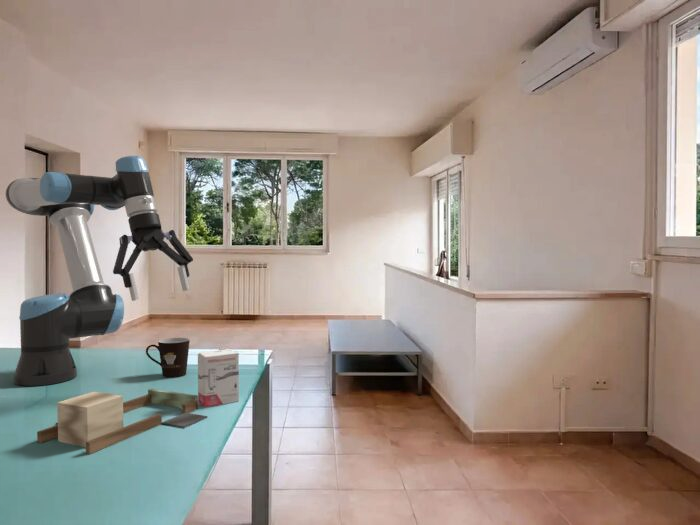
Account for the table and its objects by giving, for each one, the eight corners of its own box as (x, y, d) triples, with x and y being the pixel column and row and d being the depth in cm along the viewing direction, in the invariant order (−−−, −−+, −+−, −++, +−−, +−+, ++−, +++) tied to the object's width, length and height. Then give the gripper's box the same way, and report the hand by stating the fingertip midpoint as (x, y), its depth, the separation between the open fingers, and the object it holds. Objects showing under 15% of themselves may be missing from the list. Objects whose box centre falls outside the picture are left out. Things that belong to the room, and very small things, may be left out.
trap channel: (16, 437, 99) (16, 422, 99) (132, 398, 124) (132, 386, 124) (114, 459, 88) (114, 442, 88) (219, 412, 114) (219, 398, 114)
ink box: (203, 408, 117) (203, 356, 116) (197, 402, 121) (196, 352, 120) (240, 401, 122) (239, 351, 121) (232, 396, 126) (231, 348, 125)
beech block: (58, 441, 97) (57, 402, 97) (94, 428, 104) (94, 391, 104) (87, 448, 94) (87, 407, 93) (123, 433, 101) (122, 395, 101)
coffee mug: (196, 373, 150) (196, 338, 149) (175, 380, 142) (174, 344, 141) (166, 369, 154) (165, 336, 154) (143, 375, 147) (143, 340, 146)
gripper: (96, 215, 122) (116, 301, 121) (193, 208, 139) (212, 283, 138) (87, 223, 128) (106, 306, 126) (182, 215, 145) (199, 288, 143)
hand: (161, 294), depth 132 cm, fingers open, 13 cm apart
